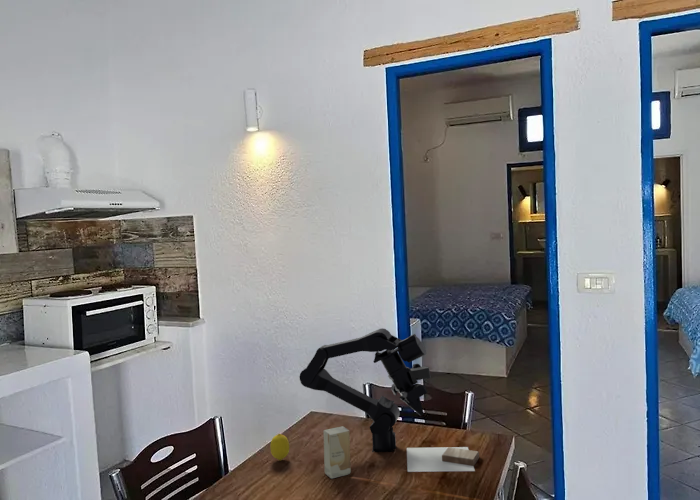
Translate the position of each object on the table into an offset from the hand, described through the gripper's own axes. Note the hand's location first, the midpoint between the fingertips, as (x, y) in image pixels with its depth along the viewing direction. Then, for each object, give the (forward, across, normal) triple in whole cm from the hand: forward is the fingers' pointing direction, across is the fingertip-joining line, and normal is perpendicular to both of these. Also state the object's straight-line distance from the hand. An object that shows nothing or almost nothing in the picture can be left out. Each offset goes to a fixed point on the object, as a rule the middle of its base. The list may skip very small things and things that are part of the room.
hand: (422, 414), depth 169 cm
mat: (+12, -7, +3) cm, 14 cm away
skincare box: (-1, -6, +30) cm, 30 cm away
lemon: (-9, +7, +42) cm, 44 cm away
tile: (+11, -6, +1) cm, 13 cm away
